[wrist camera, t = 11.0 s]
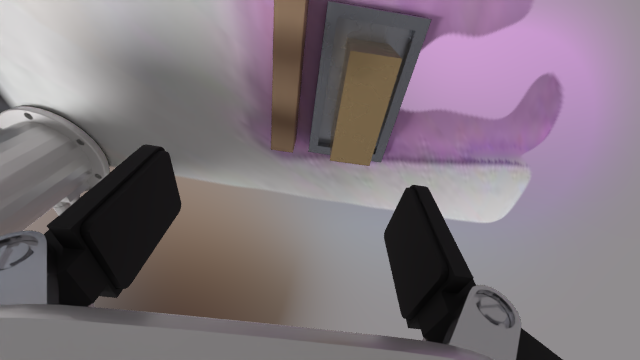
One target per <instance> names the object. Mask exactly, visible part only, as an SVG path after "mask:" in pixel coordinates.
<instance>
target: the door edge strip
mask: <svg viewBox="0 0 640 360" xmlns="http://www.w3.org/2000/svg"><path fill="white" fill-rule="evenodd" d="M308 3H309V0H274V32H273V80H272V128H271V150H278V151H285V152H292V153H293V150H294V146H295V142H296V135H297V124H298V113H299V102H300V91H301V80H302V69H303V58H304V47H305V36H306V25H307V14H308Z"/></svg>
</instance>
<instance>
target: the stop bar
mask: <svg viewBox="0 0 640 360" xmlns="http://www.w3.org/2000/svg"><path fill="white" fill-rule="evenodd" d="M401 62H402V58H401V57H400V56H399V55H398V53H397V52H396V51H395V50H394V49H393V48H392V47H391V46H390V45H389V44H385V43H378V42H372V41H366V40H359V39H353V38H347V43H346V49H345V55H344V61H343V66H342V72H341V78H340V84H339V89H338V95H337V101H336V107H335V112H334V118H333V124H332V130H331V145H330V161H337V162H345V163H352V164H359V165H366V166H369V165H370V162H371V159H372V155H373V152H374V149H375V146H376V142H377V139H378V136H379V133H380V129H381V126H382V123H383V120H384V117H385V113H386V110H387V107H388V104H389V100H390V97H391V94H392V91H393V87H394V84H395V81H396V78H397V74H398V71H399V68H400V65H401Z"/></svg>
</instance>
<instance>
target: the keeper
mask: <svg viewBox="0 0 640 360" xmlns="http://www.w3.org/2000/svg"><path fill="white" fill-rule="evenodd" d="M430 22H431V19H429V18H425V17H420V16H414V15H408V14H403V13H397V12H391V11H386V10H380V9H374V8H369V7H363V6H357V5H352V4H346V3H340V2H335V1H329V0H328V5H327V13H326V21H325V28H324V36H323V44H322V51H321V59H320V67H319V74H318V82H317V90H316V97H315V105H314V113H313V120H312V128H311V136H310V143H309V151H308V152H314V153H321V154H327V155H330V145H331V130H332V124H333V118H334V112H335V107H336V101H337V95H338V89H339V84H340V78H341V72H342V66H343V61H344V55H345V49H346V43H347V38H353V39H359V40H366V41H372V42H378V43H385V44H389V45H390V46H391V47H392V48H393V49H394V50H395V51H396V52H397V53H398V55H399V56H400V57H401V58H402V62H401V65H400V68H399V71H398V74H397V78H396V81H395V84H394V87H393V91H392V94H391V97H390V100H389V104H388V107H387V110H386V113H385V117H384V120H383V123H382V126H381V129H380V133H379V136H378V139H377V142H376V146H375V149H374V152H373V155H372V159H371V161H375V162H381V160H382V158H383V155H384V152H385V149H386V146H387V143H388V141H389V138H390V135H391V132H392V129H393V127H394V124H395V121H396V118H397V115H398V112H399V110H400V107H401V104H402V101H403V98H404V95H405V92H406V90H407V87H408V84H409V81H410V78H411V76H412V73H413V70H414V67H415V64H416V61H417V59H418V56H419V53H420V50H421V47H422V45H423V42H424V39H425V36H426V33H427V30H428V28H429V25H430Z"/></svg>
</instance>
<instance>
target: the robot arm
mask: <svg viewBox="0 0 640 360" xmlns="http://www.w3.org/2000/svg"><path fill="white" fill-rule="evenodd" d="M109 171H110V168H109V164H108V161H107V158H106V156H105V154H104V153H103V151H102V150H101V148H100V147H99V146H98V145H97V143H96V142H95V141H94V140H93V139H92V138H91V137H90V136H89V135H88V134H87V133H85V132H84V131H83V130H82V129H80V128H79V127H78V126H76V125H75V124H73V123H72V122H70V121H68V120H66V119H65V118H63V117H61V116H59V115H56V114H54V113H52V112H49V111H46V110H43V109H40V108H35V107H29V106H19V107H14V108H11V109H8V110H6V111H4V112H1V113H0V360H562V359H561V358H560V357H558V356H557V355H556V354H554V353H553V352H552V351H551V350H549V349H548V348H547V347H545V346H544V345H543V344H541V343H540V342H539V341H538V340H536V339H535V338H534V337H532V336H531V335H530V334H528V333H527V332H526V331H524V330H523V329H522V328H521V319H520V316H519V314H518V312H517V310H516V308H515V307H514V305H513V304H512V303H511V302H510V301H509V300H508V299H507V298H506V297H505V296H504V295H503V294H501V293H500V292H499V291H497V290H495V289H493V288H491V287H488V286H485V285H476V284H475V283H474V280H473V276H472V274H471V272H470V270H469V268H468V266H467V264H466V262H465V260H464V258H463V256H462V254H461V252H460V250H459V249H458V246H457V244H456V242H455V241H454V238H453V236H452V234H451V233H450V230H449V228H448V226H447V225H446V223H445V220H444V218H443V216H442V214H441V212H440V210H439V208H438V206H437V204H436V202H435V200H434V198H433V196H432V194H431V192H430V191H429V189H428V187H424V186H418V185H412V186H411V187H410V188H406V189H405V191H404V193H403V195H402V197H401V199H400V201H399V203H398V205H397V207H396V209H395V211H394V214H393V216H392V218H391V220H390V222H389V224H388V226H387V228H386V230H385V233H384V239H385V244H386V248H387V253H388V257H389V262H390V266H391V271H392V275H393V279H394V283H395V289H396V293H397V298H398V302H399V307H400V311H401V314H402V317H403V318H405V319H406V321H407V325H408V328H414V329H421V331H422V335H423V337H424V338H423V340H422V341H421V340H413V339H404V338H397V337H388V336H381V335H370V334H362V333H352V332H343V331H333V330H323V329H314V328H304V327H294V326H285V325H274V324H264V323H254V322H245V321H235V320H224V319H214V318H204V317H194V316H183V315H173V314H162V313H151V312H141V311H130V310H120V309H108V308H95V307H94V302H95V300H96V299H97V298H98V296H104V297H114V298H117V297H118V296H119V294H120V293H121V291H122V290H123V289H126V288H127V287H129V286H130V284H131V283H132V282H133V280H134V279H135V277H136V276H137V274H138V273H139V271H140V270H141V268H142V266H143V265H144V264H145V262H146V261H147V259H148V258H149V256H150V255H151V253H152V252H153V250H154V249H155V247H156V246H157V244H158V243H159V241H160V240H161V238H162V237H163V235H164V234H165V232H166V231H167V229H168V228H169V226H170V225H171V224H172V222H173V220H174V219H175V218H176V216H177V215H178V213H179V211H180V209H181V200H180V196H179V192H178V188H177V184H176V180H175V176H174V172H173V167H172V163H171V159H170V155H169V153H168V152H166V151H165V150H164V148H162V147H159V146H152V145H143V146H141V147H140V148H139V149H138V150H137V151H135V152H134V153H133V154H132V155H131V156H129V157H128V158H127V159H126V160H125V161H123V162H122V163H121V164H120V165H119V166H117V167H116V168H115V169H114V170H113V171H112V172H110V173H109ZM86 190H89V191H88V192H87V193H85V194H84V195H83V196H82V197H81V198H80V194H81V193H83V192H84V191H86ZM51 208H53V209H54V210H55V212H56V213H57V214H58V217H57V218H56V219H54V220H53V221H52V222H51V223H50V224H48V225H47V227H48V228H49V230H48V231H47V232H46V233H45V234H44V235H43V234H42V233H40V232H36V231H23V230H24V229H25V228H27V227H28V226H29V225H31V224H32V223H33V222H35V221H36V220H37V219H38V218H39V217H41V216H42V215H44V214H45V213H46V212H47V211H49V210H50V209H51Z"/></svg>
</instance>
